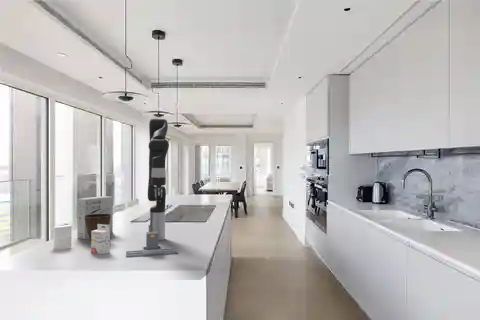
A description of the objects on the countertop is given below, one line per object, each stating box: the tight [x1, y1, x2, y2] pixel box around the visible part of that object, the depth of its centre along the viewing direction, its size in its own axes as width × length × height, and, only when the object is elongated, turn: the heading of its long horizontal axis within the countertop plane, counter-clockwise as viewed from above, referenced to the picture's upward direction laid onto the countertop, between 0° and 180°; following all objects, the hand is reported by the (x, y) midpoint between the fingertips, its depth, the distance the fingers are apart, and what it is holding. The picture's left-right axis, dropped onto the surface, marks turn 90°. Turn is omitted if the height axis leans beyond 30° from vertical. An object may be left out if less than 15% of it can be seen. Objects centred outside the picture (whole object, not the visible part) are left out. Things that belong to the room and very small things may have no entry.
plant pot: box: [84, 214, 111, 241], centre depth 213 cm, size 15×15×16 cm
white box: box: [53, 224, 73, 250], centre depth 198 cm, size 9×9×12 cm
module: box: [145, 231, 159, 250], centre depth 186 cm, size 6×5×10 cm
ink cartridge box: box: [90, 224, 111, 255], centre depth 187 cm, size 9×5×15 cm, turn 71°
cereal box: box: [76, 195, 114, 240], centre depth 231 cm, size 22×8×25 cm, turn 150°
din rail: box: [125, 245, 178, 258], centre depth 186 cm, size 26×9×3 cm, turn 107°
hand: (158, 208), depth 189 cm, fingers closed
